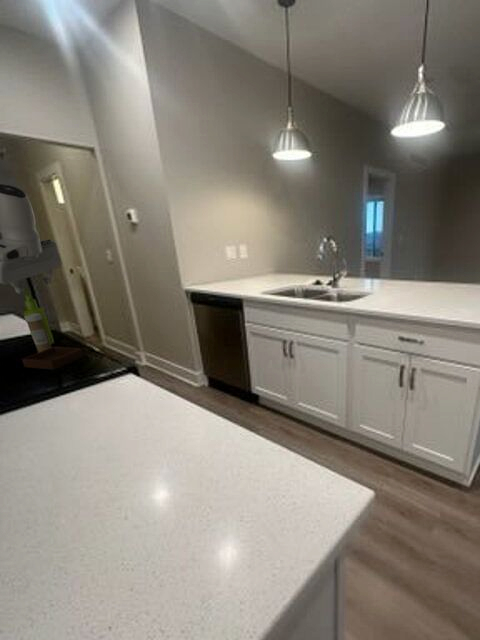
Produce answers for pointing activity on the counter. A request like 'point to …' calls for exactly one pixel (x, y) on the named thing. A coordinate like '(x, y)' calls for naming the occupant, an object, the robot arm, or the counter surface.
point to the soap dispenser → (33, 309)
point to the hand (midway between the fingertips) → (34, 287)
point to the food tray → (53, 358)
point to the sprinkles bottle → (38, 331)
